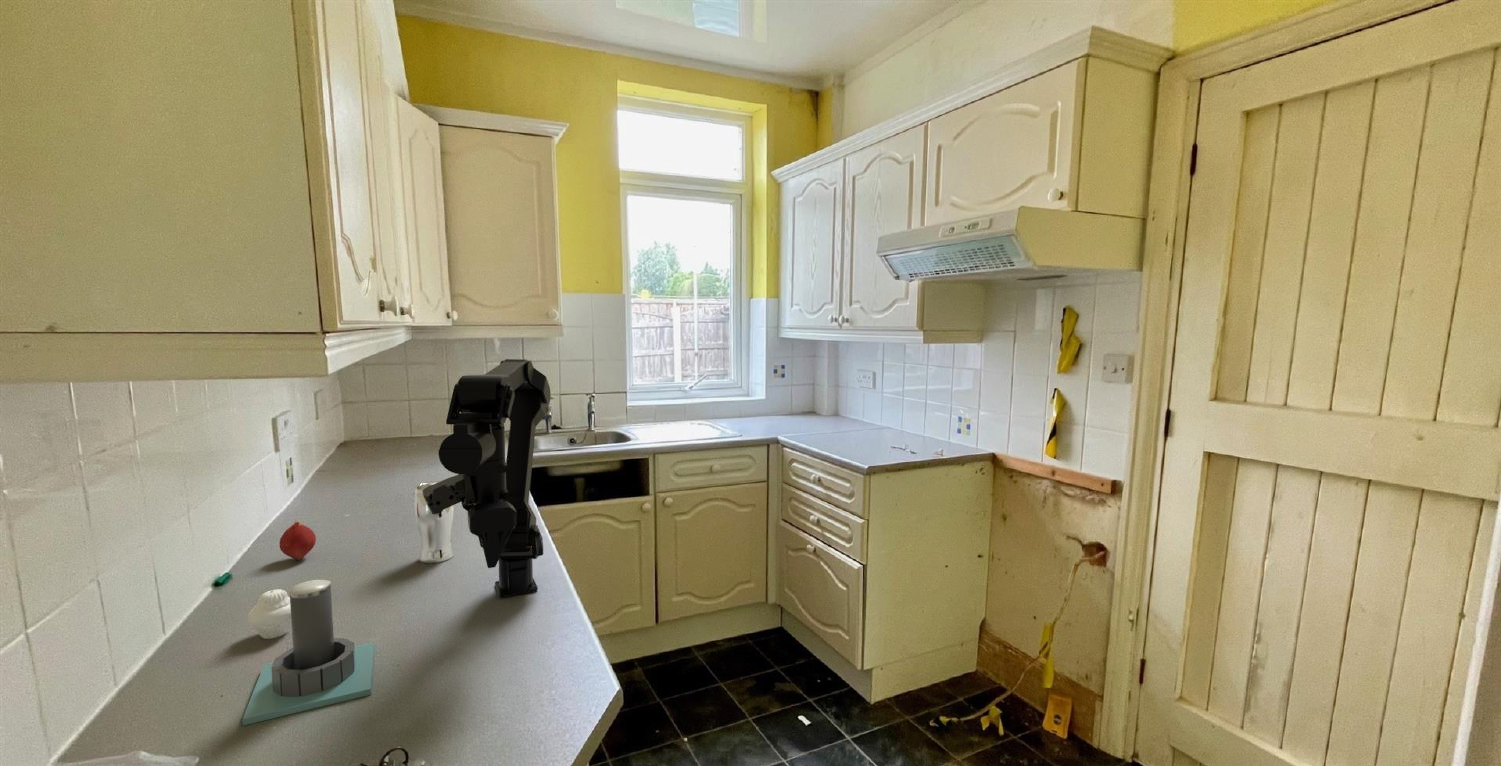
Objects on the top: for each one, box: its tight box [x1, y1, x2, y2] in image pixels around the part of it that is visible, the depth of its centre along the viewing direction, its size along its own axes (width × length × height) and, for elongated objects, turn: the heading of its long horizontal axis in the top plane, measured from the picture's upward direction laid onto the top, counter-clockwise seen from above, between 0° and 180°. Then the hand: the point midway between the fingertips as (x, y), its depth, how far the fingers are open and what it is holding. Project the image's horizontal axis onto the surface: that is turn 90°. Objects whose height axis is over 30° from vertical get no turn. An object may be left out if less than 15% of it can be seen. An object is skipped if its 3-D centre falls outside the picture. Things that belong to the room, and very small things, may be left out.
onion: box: [279, 520, 317, 561], centre depth 122 cm, size 6×6×8 cm
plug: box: [289, 579, 335, 670], centre depth 81 cm, size 4×4×12 cm
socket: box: [242, 637, 376, 726], centre depth 82 cm, size 13×13×4 cm
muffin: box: [247, 588, 292, 640], centre depth 94 cm, size 6×6×7 cm
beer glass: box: [414, 481, 455, 564], centre depth 124 cm, size 7×7×15 cm
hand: (487, 556), depth 95 cm, fingers open, 9 cm apart
